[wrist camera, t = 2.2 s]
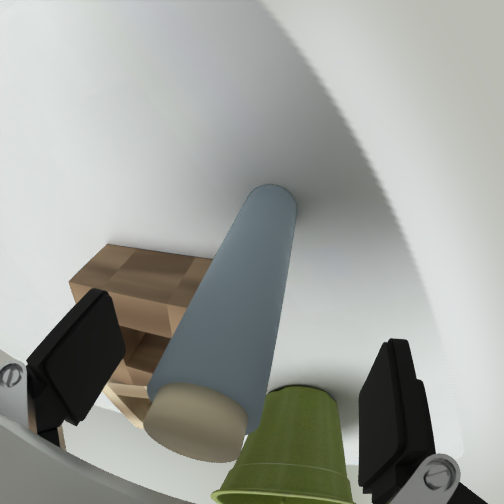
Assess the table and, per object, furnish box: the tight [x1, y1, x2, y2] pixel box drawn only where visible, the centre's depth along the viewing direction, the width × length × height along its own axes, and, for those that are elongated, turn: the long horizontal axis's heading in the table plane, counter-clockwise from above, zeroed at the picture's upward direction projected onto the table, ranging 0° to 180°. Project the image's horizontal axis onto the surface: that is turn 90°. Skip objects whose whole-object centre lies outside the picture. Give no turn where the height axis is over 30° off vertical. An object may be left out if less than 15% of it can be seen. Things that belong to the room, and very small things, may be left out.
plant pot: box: [211, 386, 356, 504], centre depth 23 cm, size 12×12×11 cm
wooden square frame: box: [69, 244, 213, 386], centre depth 22 cm, size 10×10×5 cm
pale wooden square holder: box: [102, 379, 152, 429], centre depth 26 cm, size 8×8×5 cm
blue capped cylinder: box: [143, 184, 297, 463], centre depth 12 cm, size 3×3×14 cm
